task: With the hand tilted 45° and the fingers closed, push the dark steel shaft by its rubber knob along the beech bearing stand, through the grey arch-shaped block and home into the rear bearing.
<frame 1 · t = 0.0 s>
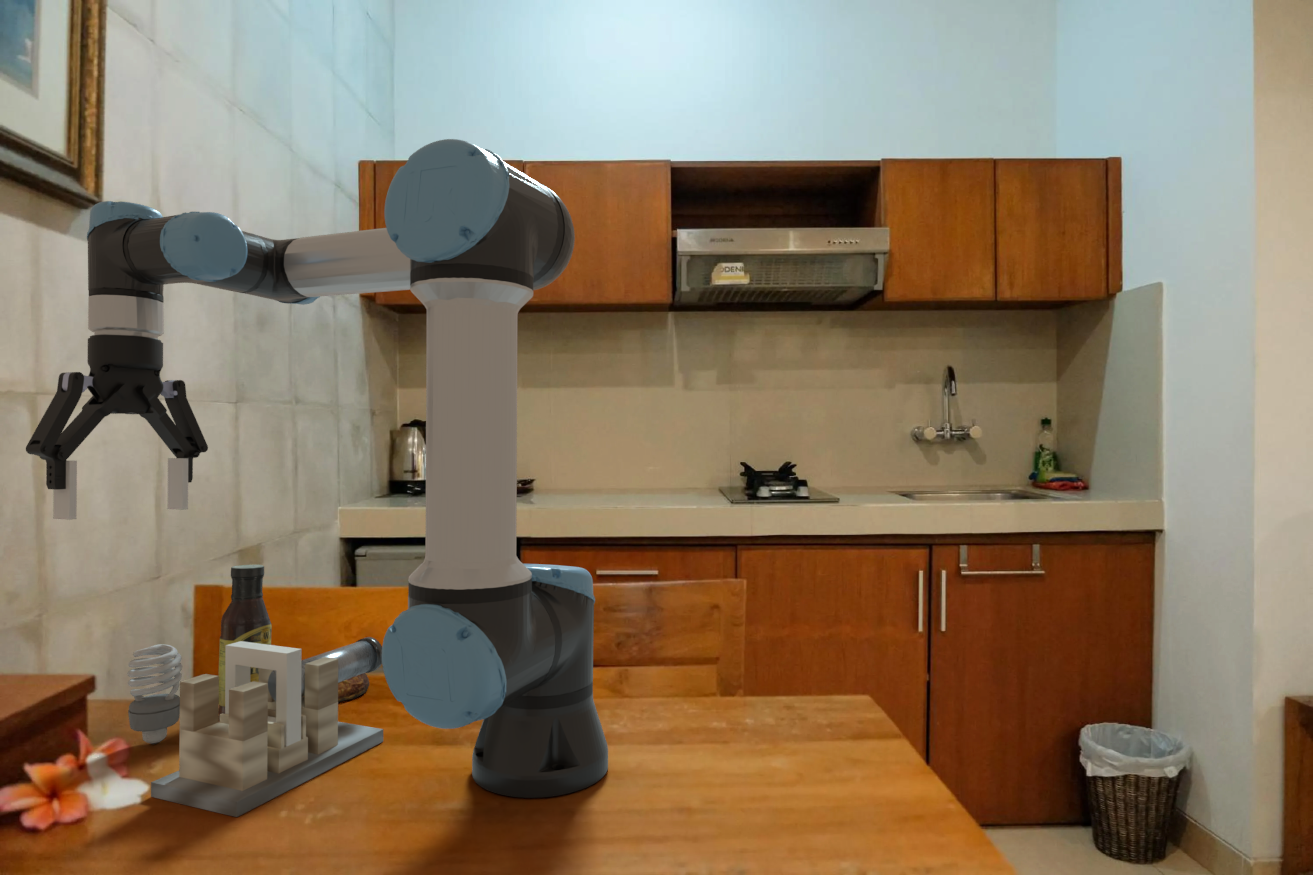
hand: (125, 514, 95), 28 cm above the table, tool pointing down, fingers open, 13 cm apart
shaft: (328, 668, 97), point 9 cm above the table, slide at 0.0 cm
light bulb: (154, 745, 96), on the table
bread roll: (328, 696, 115), on the table
bearing stand: (277, 766, 89), on the table
grey arch-shaped block: (262, 737, 88), point 4 cm above the table, touching bearing stand
sauce bottle: (244, 715, 107), on the table
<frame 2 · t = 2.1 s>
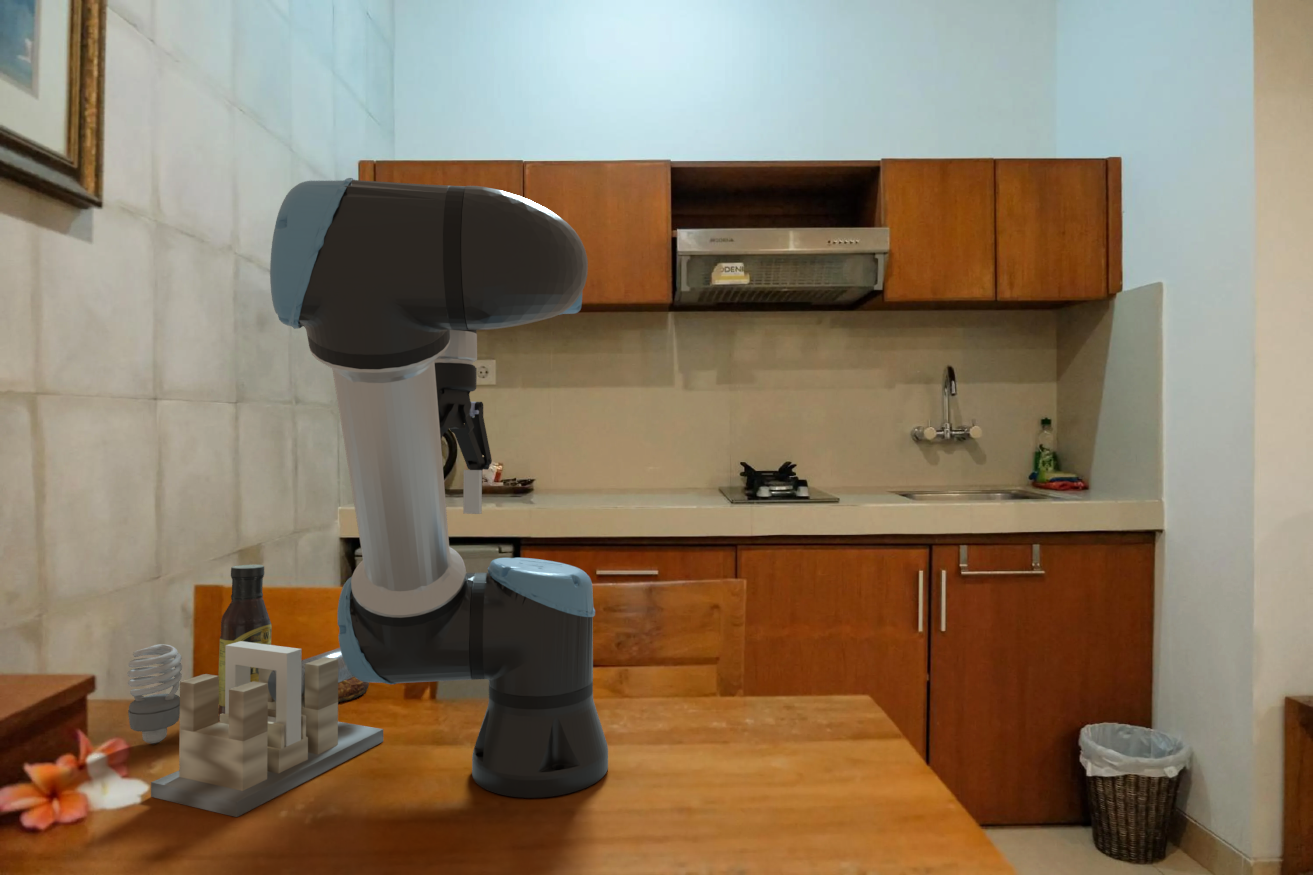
hand: (448, 517, 113), 26 cm above the table, tool pointing down, fingers open, 11 cm apart
nothing on the table moved.
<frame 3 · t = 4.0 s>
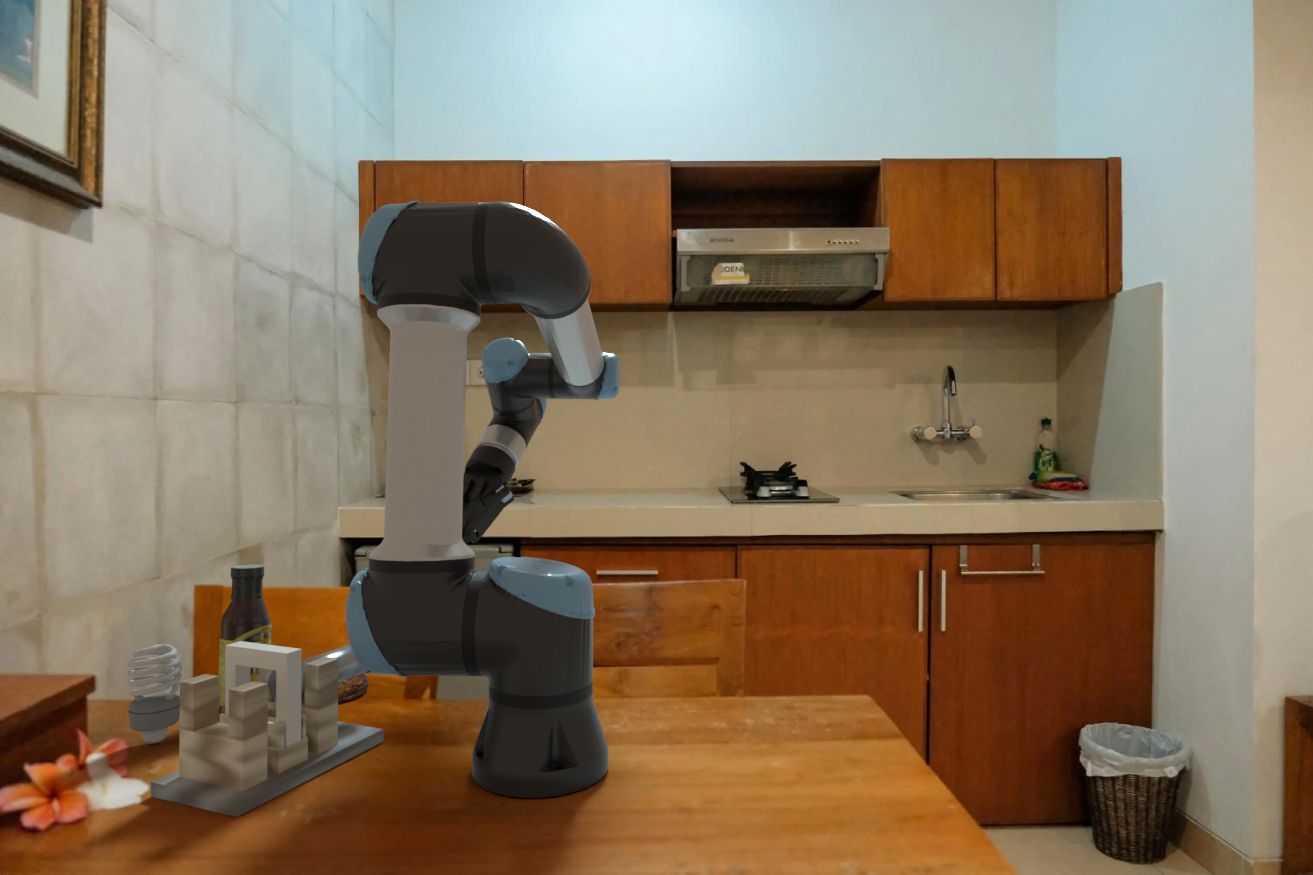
hand: (432, 575, 116), 17 cm above the table, tool tilted 45°, fingers closed
nothing on the table moved.
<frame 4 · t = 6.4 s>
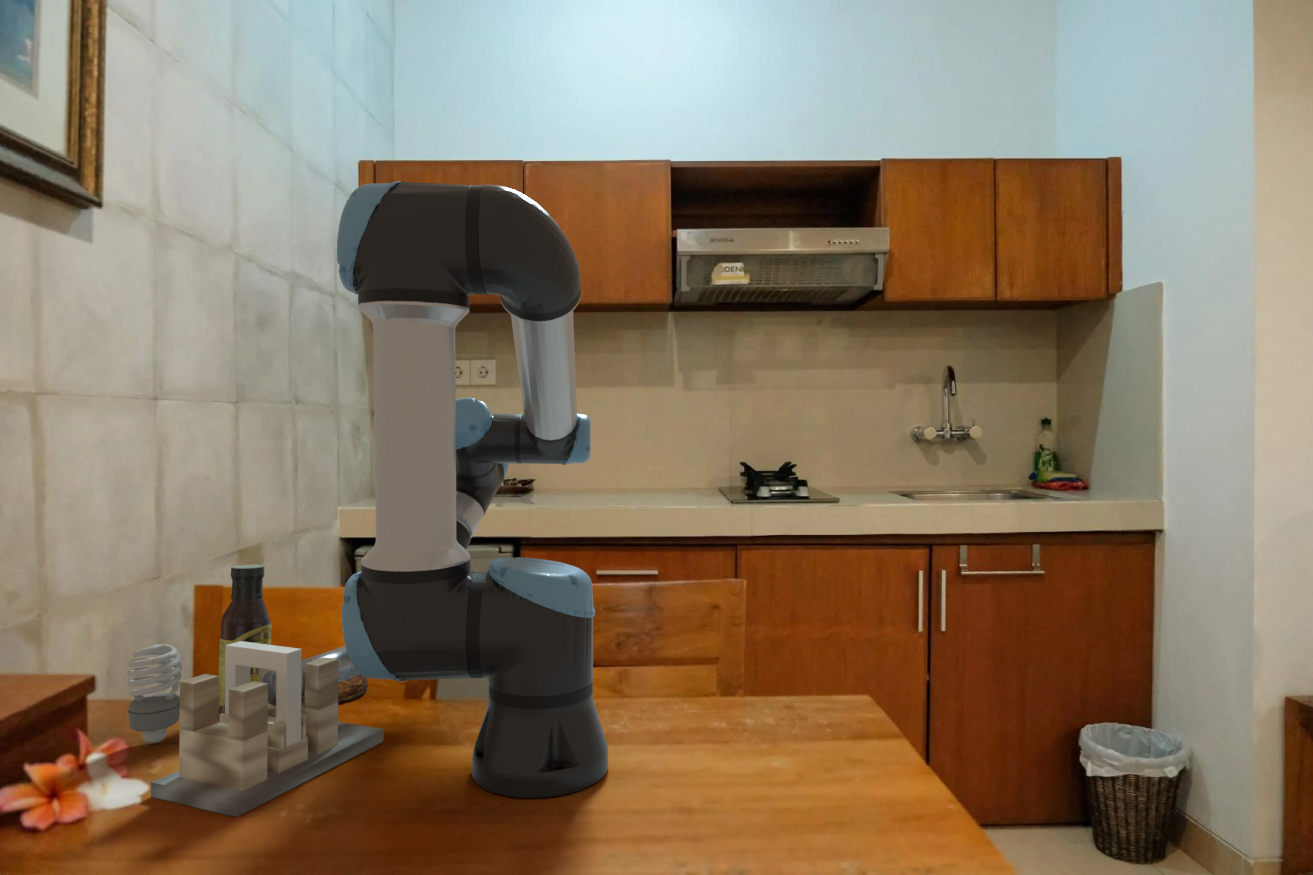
hand: (371, 667, 104), 7 cm above the table, tool tilted 45°, fingers closed
shaft: (323, 670, 96), point 9 cm above the table, slide at 0.9 cm, touching gripper
everything else where it was.
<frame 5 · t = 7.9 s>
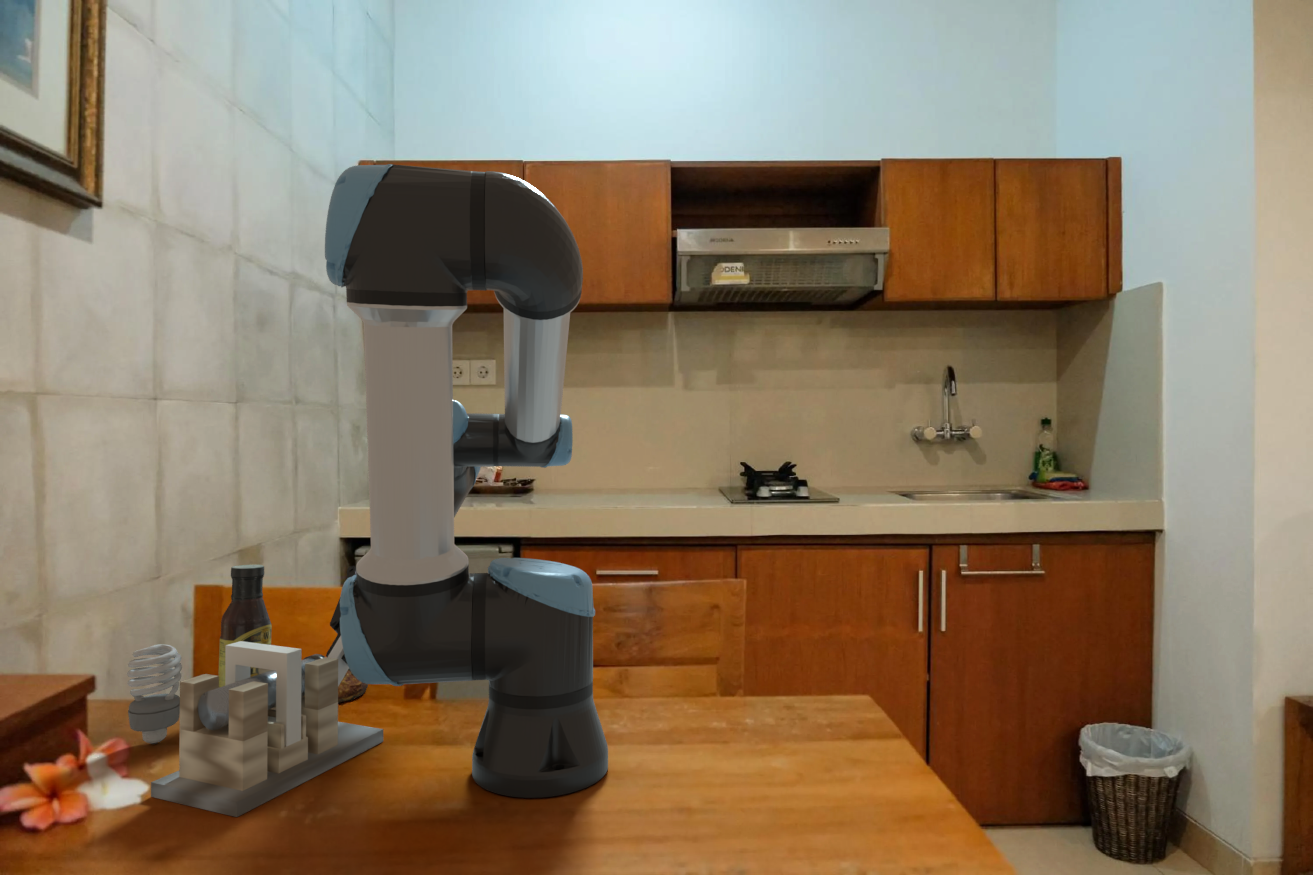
hand: (325, 685, 96), 7 cm above the table, tool tilted 45°, fingers closed
shaft: (269, 689, 88), point 9 cm above the table, slide at 8.9 cm, touching gripper
everything else where it was.
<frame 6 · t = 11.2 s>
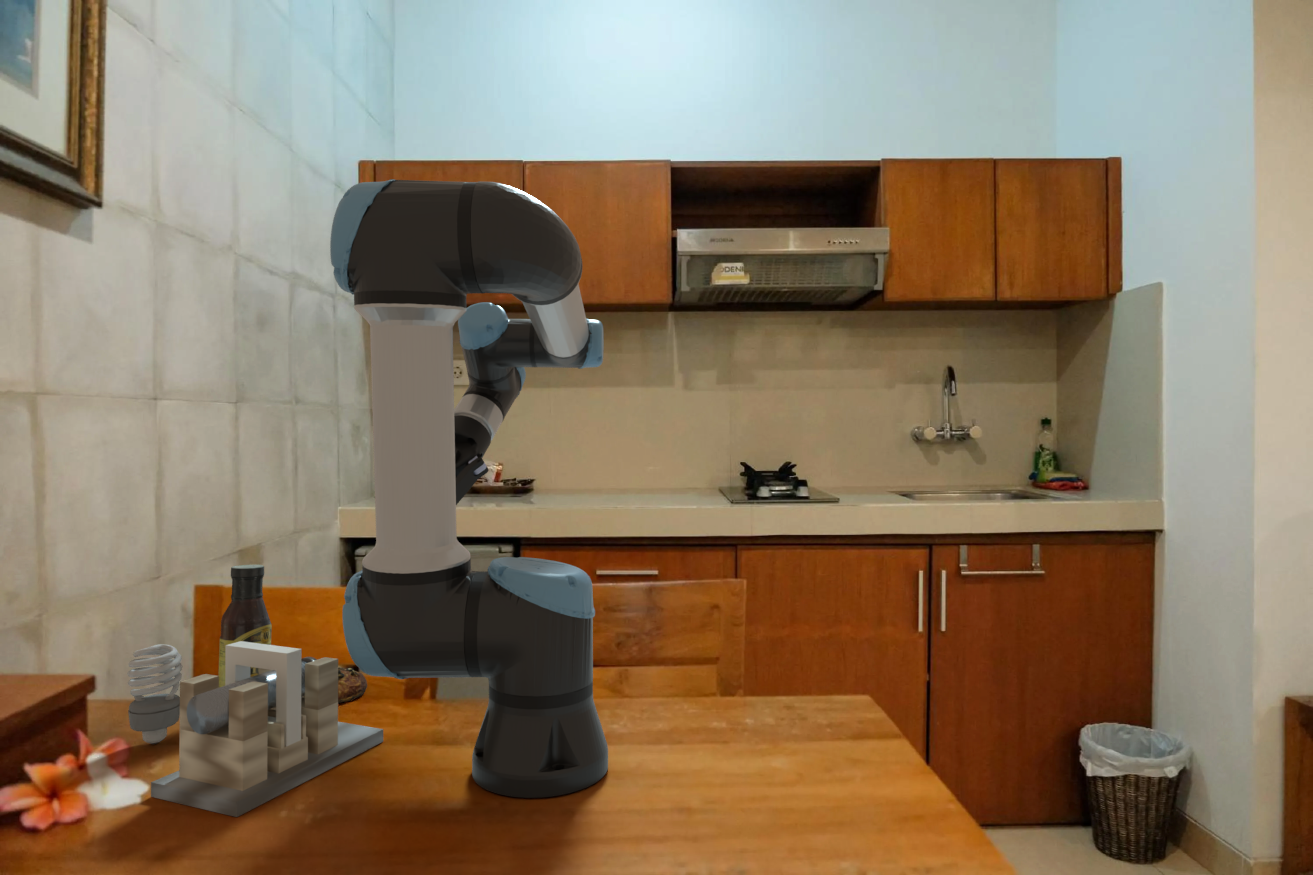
hand: (398, 549, 109), 22 cm above the table, tool tilted 45°, fingers closed
shaft: (259, 693, 87), point 9 cm above the table, slide at 10.2 cm
everything else where it was.
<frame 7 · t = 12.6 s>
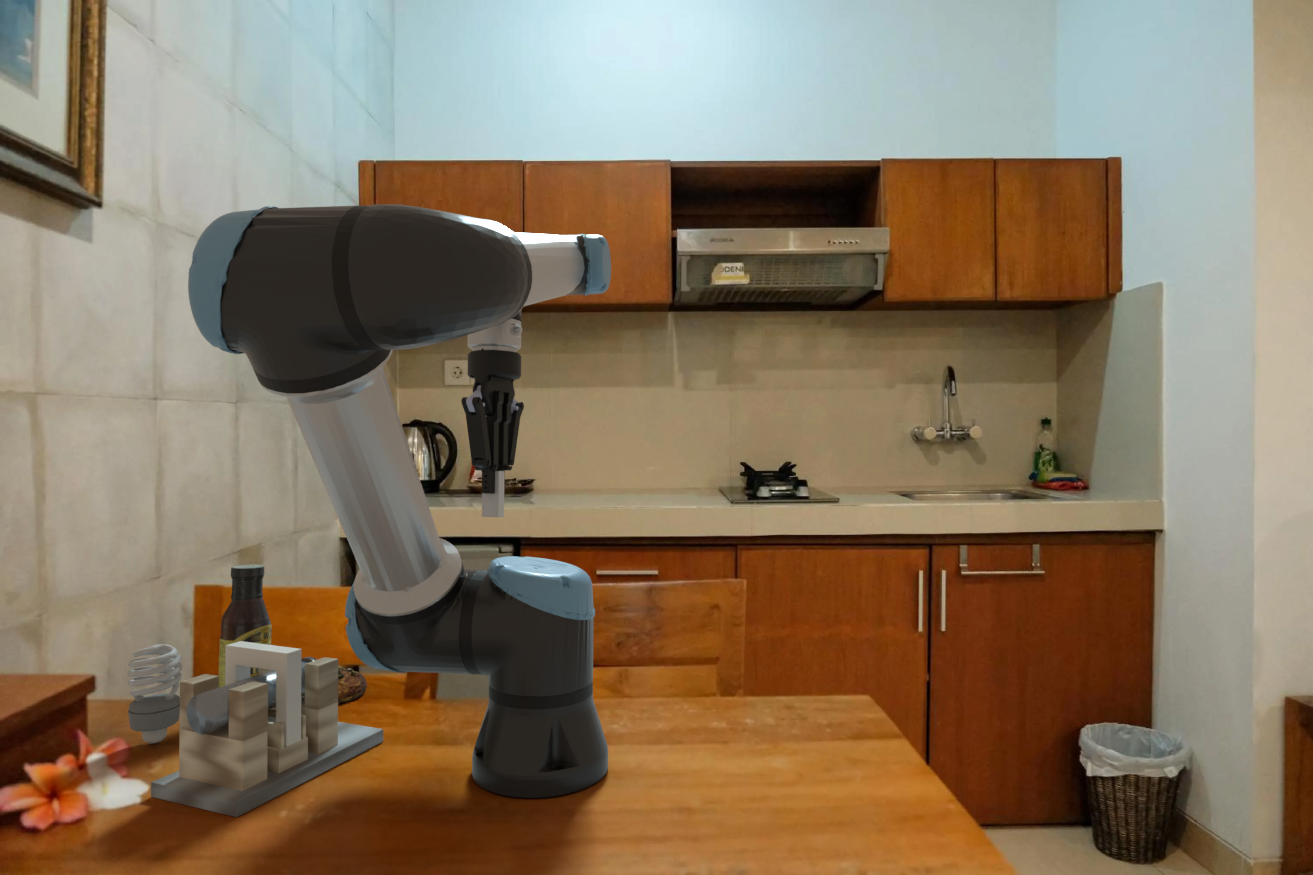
hand: (492, 516, 113), 26 cm above the table, tool pointing down, fingers closed
nothing on the table moved.
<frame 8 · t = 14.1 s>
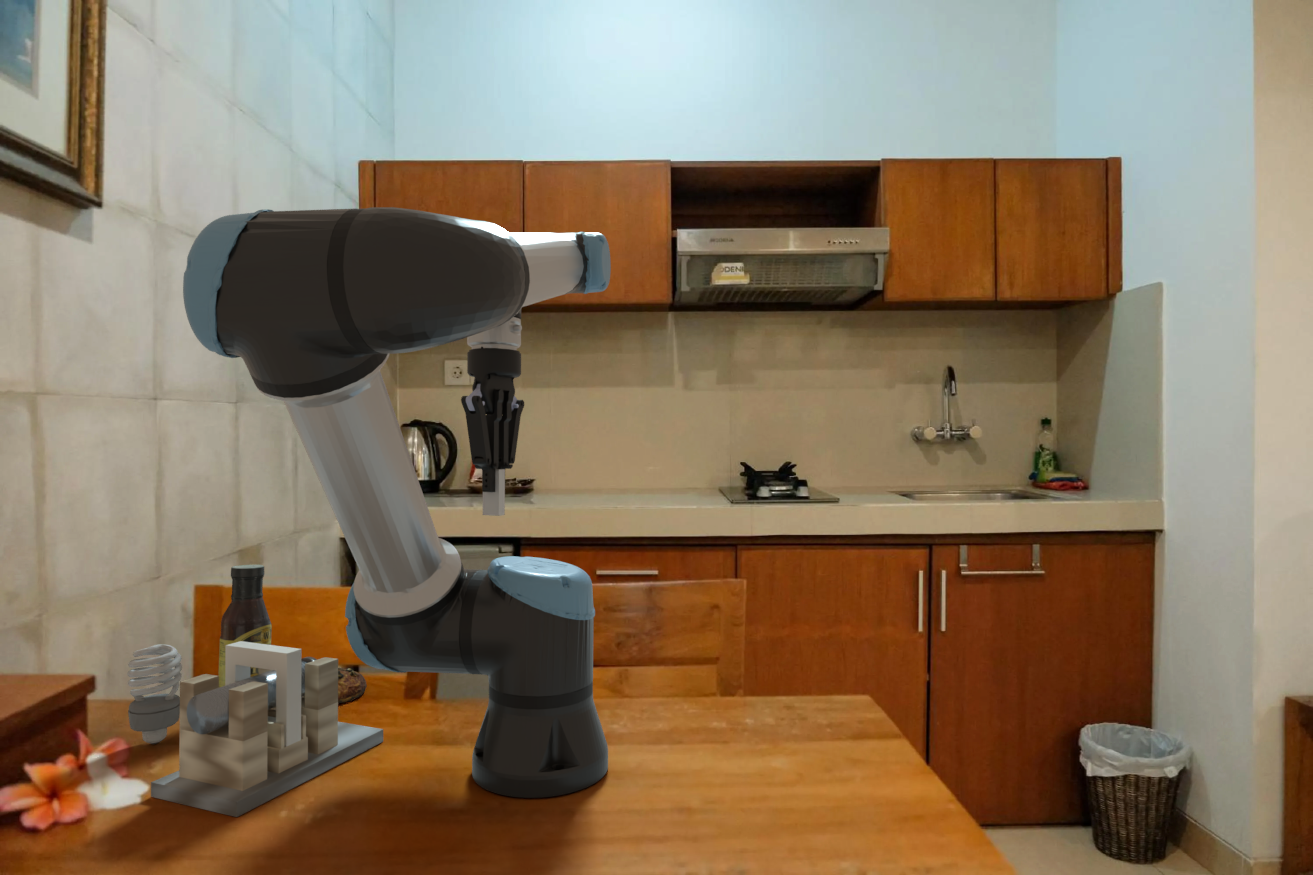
hand: (493, 514, 113), 26 cm above the table, tool pointing down, fingers closed
at the end: shaft slide at 10.2 cm; grey arch-shaped block 0.0 cm from the target spot, point 4.0 cm above the table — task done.
